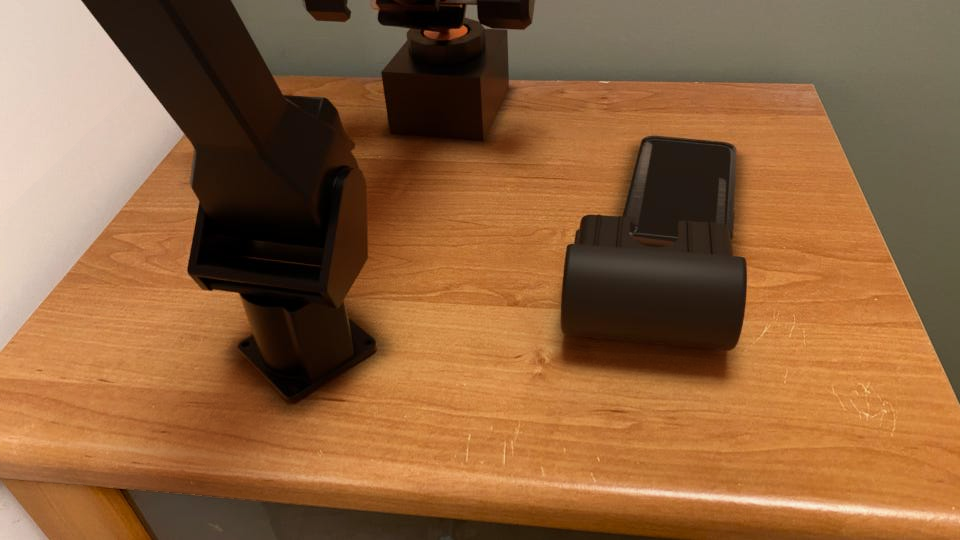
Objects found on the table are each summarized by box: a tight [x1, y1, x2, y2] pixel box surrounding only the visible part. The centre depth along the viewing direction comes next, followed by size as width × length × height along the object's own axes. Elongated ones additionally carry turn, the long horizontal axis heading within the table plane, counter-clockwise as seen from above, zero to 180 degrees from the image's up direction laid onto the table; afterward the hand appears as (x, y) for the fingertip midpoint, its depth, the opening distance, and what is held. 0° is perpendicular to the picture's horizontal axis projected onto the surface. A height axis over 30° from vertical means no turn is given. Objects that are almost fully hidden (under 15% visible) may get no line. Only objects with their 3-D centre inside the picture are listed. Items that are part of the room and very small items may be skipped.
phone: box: [622, 135, 738, 247], centre depth 57 cm, size 8×1×15 cm
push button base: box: [380, 17, 510, 142], centre depth 68 cm, size 11×9×8 cm
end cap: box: [560, 213, 748, 352], centre depth 44 cm, size 10×7×7 cm
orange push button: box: [424, 26, 468, 40], centre depth 66 cm, size 4×4×2 cm
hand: (445, 27), depth 66 cm, fingers closed, pressing on orange push button
